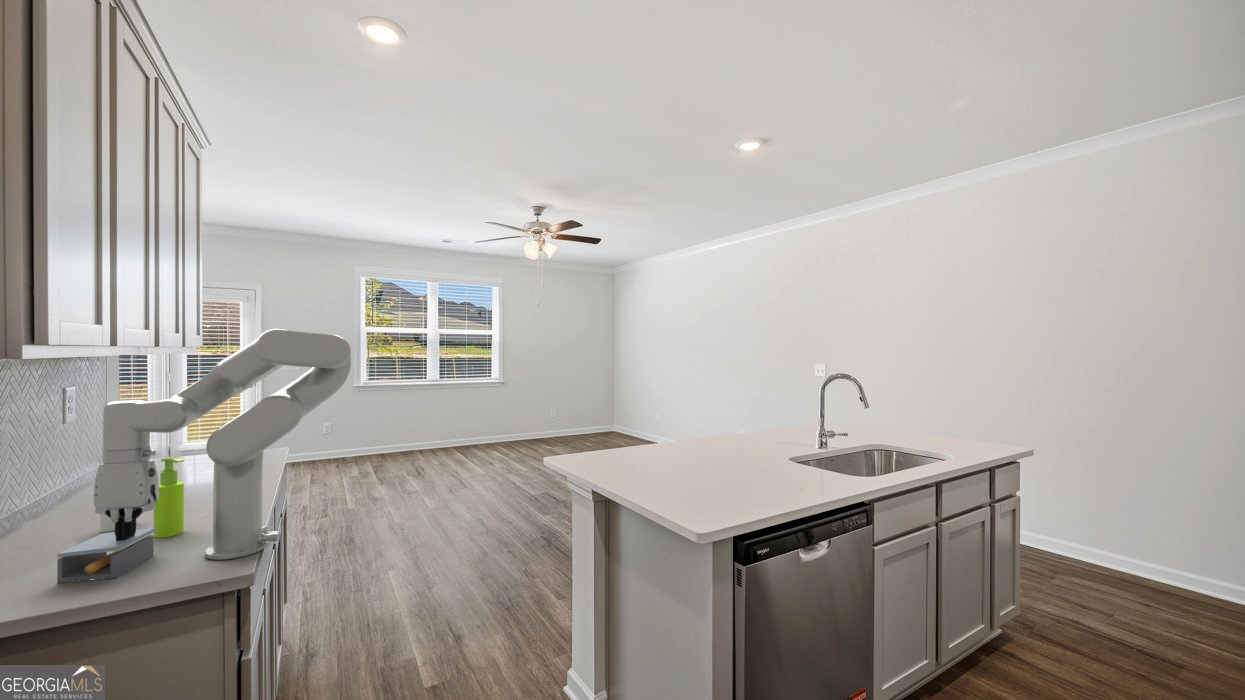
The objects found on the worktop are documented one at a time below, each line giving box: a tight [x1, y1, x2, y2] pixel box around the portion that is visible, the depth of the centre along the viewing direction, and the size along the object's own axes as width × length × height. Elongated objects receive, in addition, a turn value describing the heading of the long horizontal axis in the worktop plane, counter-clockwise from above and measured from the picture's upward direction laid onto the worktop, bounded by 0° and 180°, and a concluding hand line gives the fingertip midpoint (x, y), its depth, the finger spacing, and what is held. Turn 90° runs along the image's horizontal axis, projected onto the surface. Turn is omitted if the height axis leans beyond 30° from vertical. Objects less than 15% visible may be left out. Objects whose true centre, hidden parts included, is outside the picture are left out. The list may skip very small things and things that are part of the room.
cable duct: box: [56, 534, 154, 584], centre depth 113 cm, size 10×12×5 cm
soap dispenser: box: [153, 457, 185, 539], centre depth 134 cm, size 6×7×20 cm
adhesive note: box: [99, 508, 138, 534], centre depth 139 cm, size 6×6×6 cm
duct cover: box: [56, 527, 156, 558], centre depth 113 cm, size 11×12×1 cm
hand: (125, 538), depth 113 cm, fingers closed
